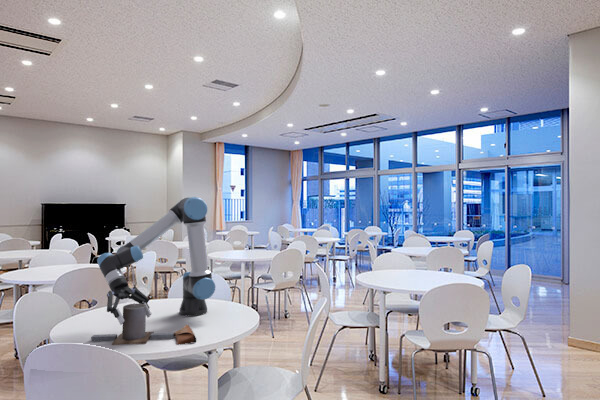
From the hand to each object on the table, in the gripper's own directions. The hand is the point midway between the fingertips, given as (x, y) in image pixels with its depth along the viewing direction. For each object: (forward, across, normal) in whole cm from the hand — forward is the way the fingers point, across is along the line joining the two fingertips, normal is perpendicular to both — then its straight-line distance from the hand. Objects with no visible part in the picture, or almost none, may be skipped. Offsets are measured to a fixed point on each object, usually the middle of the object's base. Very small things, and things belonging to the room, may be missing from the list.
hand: (136, 319), depth 180 cm
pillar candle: (+4, 0, -7) cm, 9 cm away
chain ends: (+5, 0, -8) cm, 9 cm away
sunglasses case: (+18, -14, +4) cm, 23 cm away
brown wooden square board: (+5, 0, -8) cm, 9 cm away
